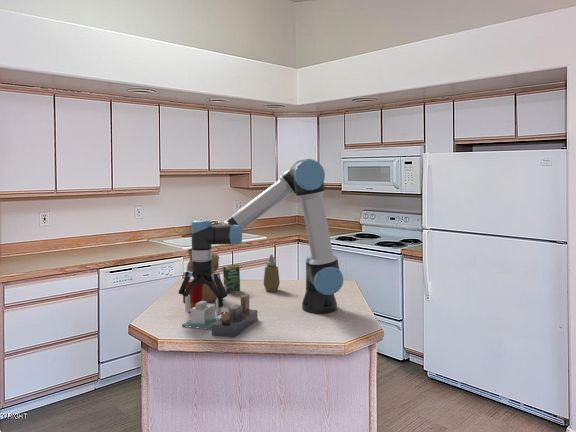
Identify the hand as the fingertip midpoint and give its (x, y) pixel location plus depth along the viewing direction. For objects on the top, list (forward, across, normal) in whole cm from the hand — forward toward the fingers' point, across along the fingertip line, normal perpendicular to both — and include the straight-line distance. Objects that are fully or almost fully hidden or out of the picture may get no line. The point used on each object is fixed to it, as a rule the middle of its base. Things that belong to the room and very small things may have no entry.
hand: (203, 313), depth 190 cm
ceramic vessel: (+4, +17, -31) cm, 36 cm away
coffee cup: (+4, +12, -14) cm, 19 cm away
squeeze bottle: (+4, -7, -57) cm, 58 cm away
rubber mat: (+4, 0, 0) cm, 4 cm away
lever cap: (+3, 0, 0) cm, 3 cm away
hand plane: (+4, -14, 0) cm, 15 cm away
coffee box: (+4, +11, -49) cm, 50 cm away
